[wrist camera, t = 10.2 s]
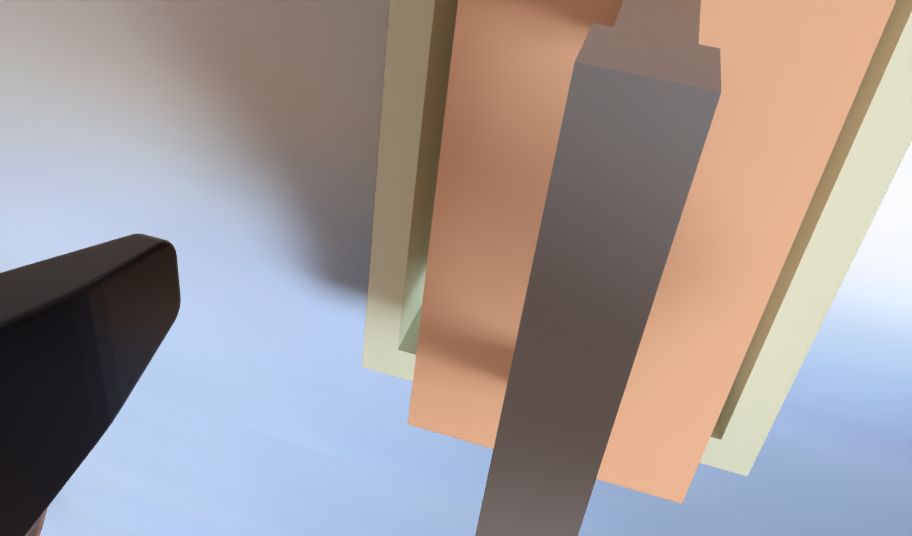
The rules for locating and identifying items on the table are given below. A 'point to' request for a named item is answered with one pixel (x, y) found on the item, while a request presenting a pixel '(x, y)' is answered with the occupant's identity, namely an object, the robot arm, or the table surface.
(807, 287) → the tray
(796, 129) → the tall peach cuboid
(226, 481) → the table surface
